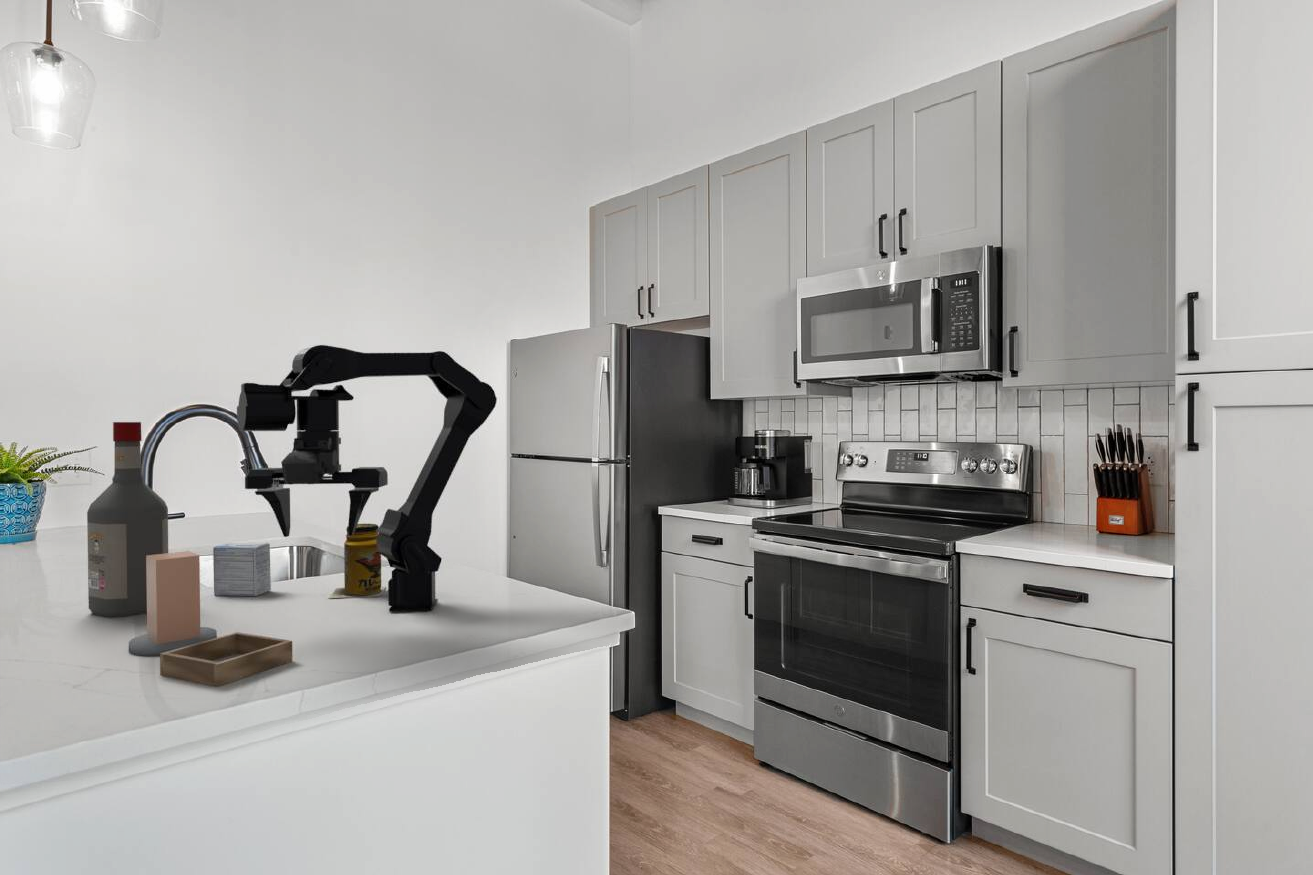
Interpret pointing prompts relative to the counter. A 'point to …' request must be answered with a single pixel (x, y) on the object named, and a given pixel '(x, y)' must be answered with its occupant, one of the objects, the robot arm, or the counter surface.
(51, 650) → the counter surface
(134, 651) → the coaster
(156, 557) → the tan rectangular block
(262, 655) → the wooden tray
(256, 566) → the grey rectangular block
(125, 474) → the liquor
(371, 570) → the condiment
